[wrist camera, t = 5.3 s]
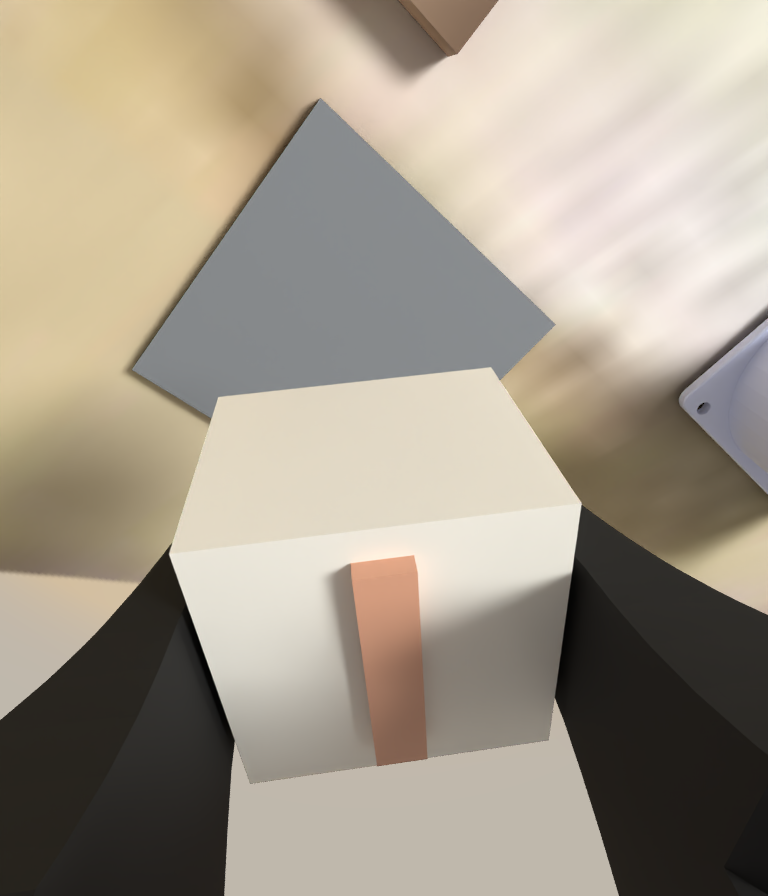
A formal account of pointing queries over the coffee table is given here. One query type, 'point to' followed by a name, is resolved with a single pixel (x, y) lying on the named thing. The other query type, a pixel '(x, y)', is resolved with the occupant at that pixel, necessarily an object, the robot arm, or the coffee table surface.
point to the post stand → (449, 20)
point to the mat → (337, 285)
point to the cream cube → (377, 571)
